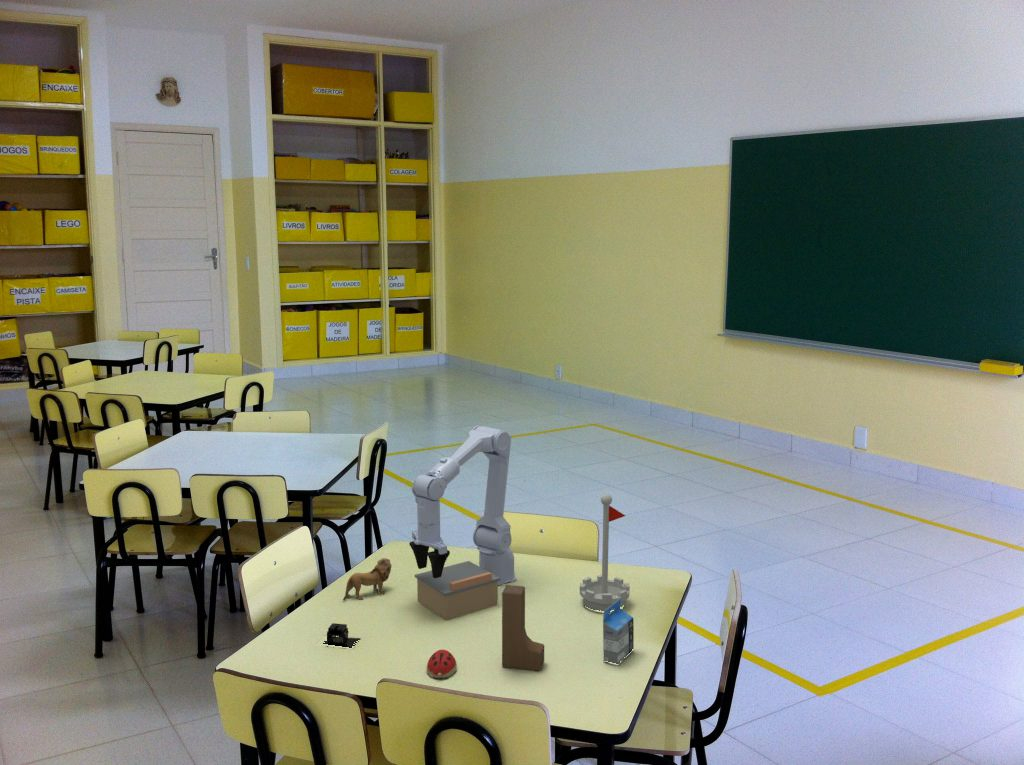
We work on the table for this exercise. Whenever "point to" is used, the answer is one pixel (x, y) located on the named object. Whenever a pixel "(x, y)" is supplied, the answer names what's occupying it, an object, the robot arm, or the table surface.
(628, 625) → the label tape box
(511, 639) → the wooden block
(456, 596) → the box
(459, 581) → the sliding lid
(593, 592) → the flag stand
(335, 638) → the black piece
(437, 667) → the ladybug figurine
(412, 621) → the table surface
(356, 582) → the lion figurine
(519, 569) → the table surface
